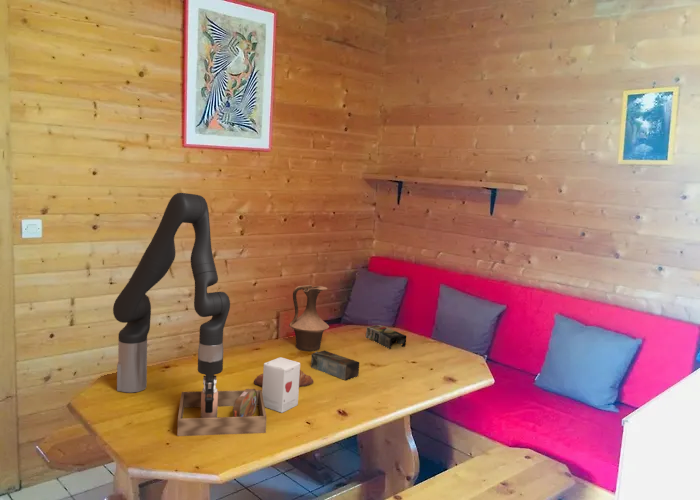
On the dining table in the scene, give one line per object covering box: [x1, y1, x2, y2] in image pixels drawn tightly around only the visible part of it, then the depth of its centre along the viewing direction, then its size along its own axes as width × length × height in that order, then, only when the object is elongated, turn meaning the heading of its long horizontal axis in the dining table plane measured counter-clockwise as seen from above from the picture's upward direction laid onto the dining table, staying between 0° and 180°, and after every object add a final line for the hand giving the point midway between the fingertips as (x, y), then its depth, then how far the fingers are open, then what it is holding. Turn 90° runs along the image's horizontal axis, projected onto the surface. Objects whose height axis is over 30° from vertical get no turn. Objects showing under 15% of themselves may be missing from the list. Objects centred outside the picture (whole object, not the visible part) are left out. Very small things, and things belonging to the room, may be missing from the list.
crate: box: [176, 389, 267, 437], centre depth 188 cm, size 26×21×5 cm
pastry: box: [253, 369, 314, 388], centre depth 220 cm, size 17×15×8 cm
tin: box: [232, 388, 258, 417], centre depth 190 cm, size 15×3×8 cm, turn 168°
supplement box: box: [261, 356, 301, 414], centre depth 200 cm, size 9×9×15 cm
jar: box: [200, 387, 219, 418], centre depth 187 cm, size 5×5×10 cm
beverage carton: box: [310, 350, 360, 381], centre depth 236 cm, size 8×19×7 cm, turn 49°
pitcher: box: [288, 284, 330, 352], centre depth 261 cm, size 18×17×28 cm
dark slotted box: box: [365, 324, 407, 350], centre depth 279 cm, size 20×10×6 cm, turn 34°
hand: (209, 406), depth 187 cm, fingers open, 8 cm apart
